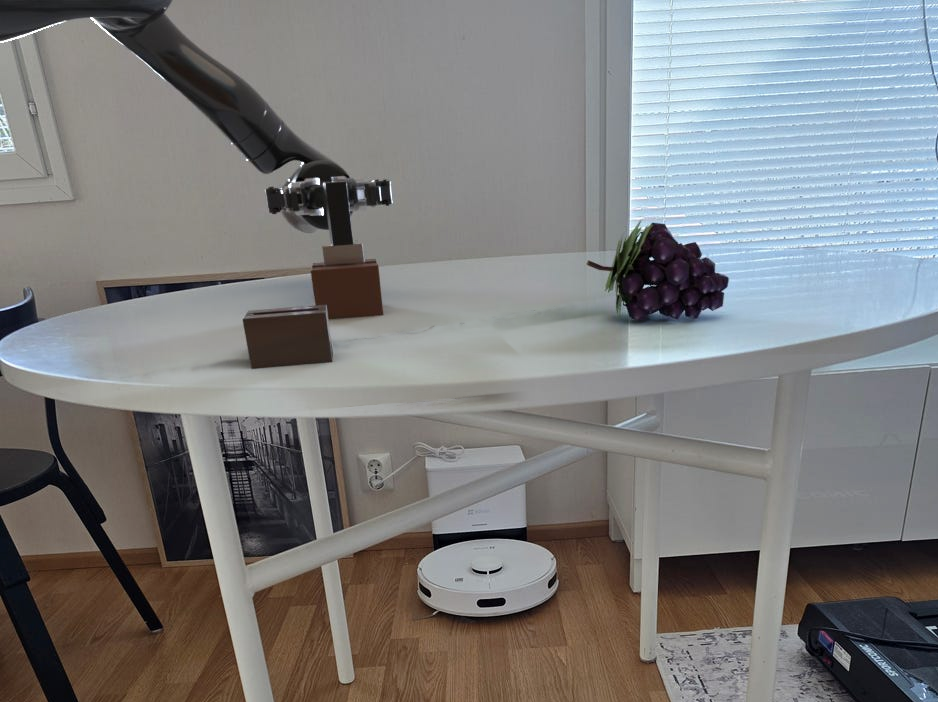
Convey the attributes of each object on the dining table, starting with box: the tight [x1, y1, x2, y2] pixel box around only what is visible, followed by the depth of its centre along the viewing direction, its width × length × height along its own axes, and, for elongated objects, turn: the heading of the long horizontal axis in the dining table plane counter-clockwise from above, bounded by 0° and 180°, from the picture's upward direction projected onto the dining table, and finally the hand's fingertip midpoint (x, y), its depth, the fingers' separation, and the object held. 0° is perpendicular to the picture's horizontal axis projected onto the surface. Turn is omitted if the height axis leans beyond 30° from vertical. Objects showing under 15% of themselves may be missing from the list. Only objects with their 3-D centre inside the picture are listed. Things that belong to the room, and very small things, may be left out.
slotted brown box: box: [310, 258, 385, 321], centre depth 96 cm, size 8×8×7 cm
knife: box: [321, 182, 365, 267], centre depth 94 cm, size 3×4×14 cm
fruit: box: [586, 218, 730, 322], centre depth 90 cm, size 10×11×15 cm
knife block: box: [242, 304, 334, 370], centre depth 78 cm, size 5×7×5 cm
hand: (334, 197), depth 93 cm, fingers open, 8 cm apart
